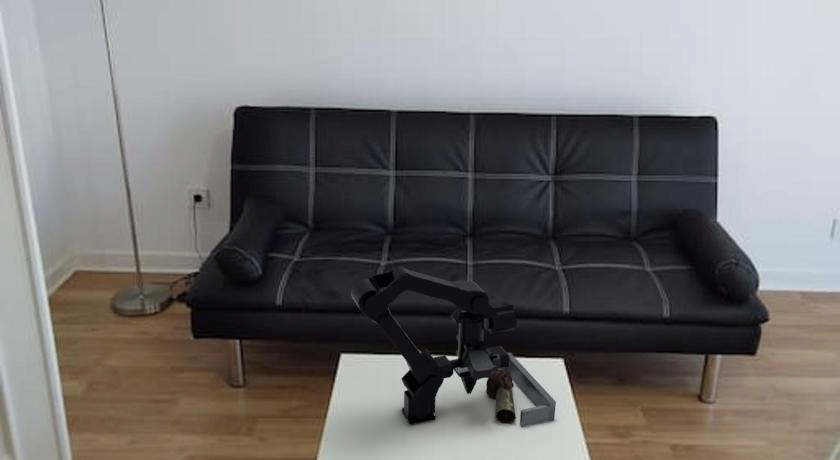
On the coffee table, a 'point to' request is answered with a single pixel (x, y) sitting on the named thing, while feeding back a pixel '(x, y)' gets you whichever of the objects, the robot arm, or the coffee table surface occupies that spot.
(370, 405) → the coffee table surface
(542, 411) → the grey u-shaped bracket
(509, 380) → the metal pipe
